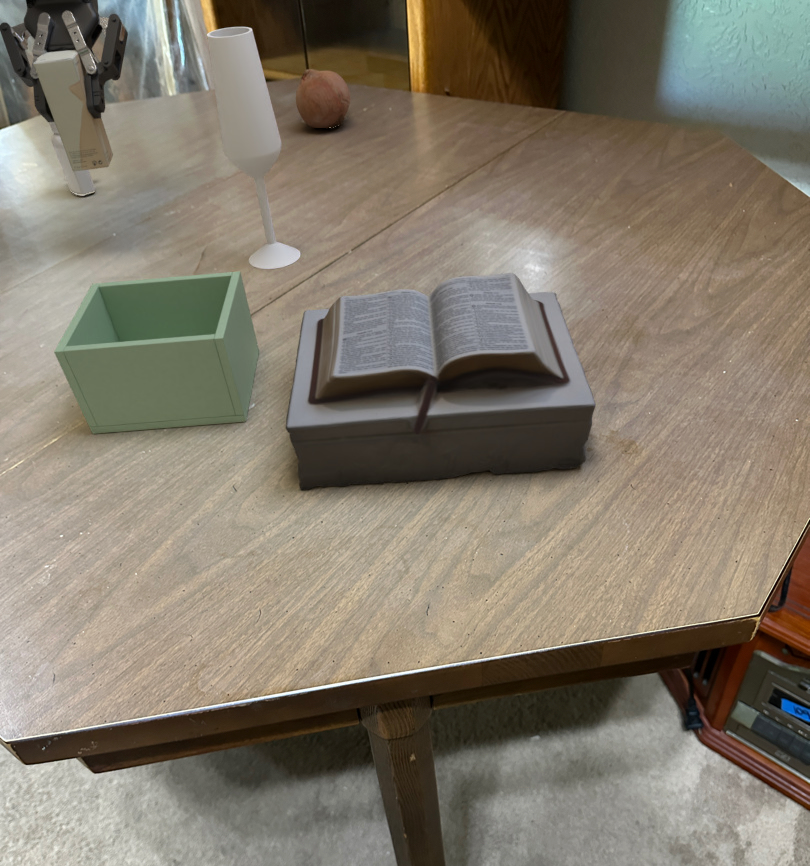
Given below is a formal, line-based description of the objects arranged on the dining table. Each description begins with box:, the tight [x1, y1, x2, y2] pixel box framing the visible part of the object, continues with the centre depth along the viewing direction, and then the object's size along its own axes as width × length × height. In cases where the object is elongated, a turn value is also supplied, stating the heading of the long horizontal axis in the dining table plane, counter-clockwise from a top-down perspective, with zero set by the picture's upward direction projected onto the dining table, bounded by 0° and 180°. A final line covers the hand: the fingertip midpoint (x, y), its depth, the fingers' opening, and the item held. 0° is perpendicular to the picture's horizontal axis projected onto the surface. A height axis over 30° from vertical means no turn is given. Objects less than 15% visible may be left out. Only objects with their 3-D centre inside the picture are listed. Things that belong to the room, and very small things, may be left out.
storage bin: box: [53, 270, 260, 435], centre depth 69 cm, size 15×13×9 cm
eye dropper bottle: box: [48, 122, 96, 194], centre depth 109 cm, size 4×6×12 cm
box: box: [34, 50, 114, 172], centre depth 83 cm, size 5×4×11 cm
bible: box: [285, 272, 597, 491], centre depth 63 cm, size 23×27×10 cm
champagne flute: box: [206, 26, 301, 270], centre depth 83 cm, size 7×7×24 cm
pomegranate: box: [295, 68, 351, 129], centre depth 125 cm, size 10×9×10 cm
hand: (71, 115), depth 81 cm, fingers closed on box, 4 cm apart
